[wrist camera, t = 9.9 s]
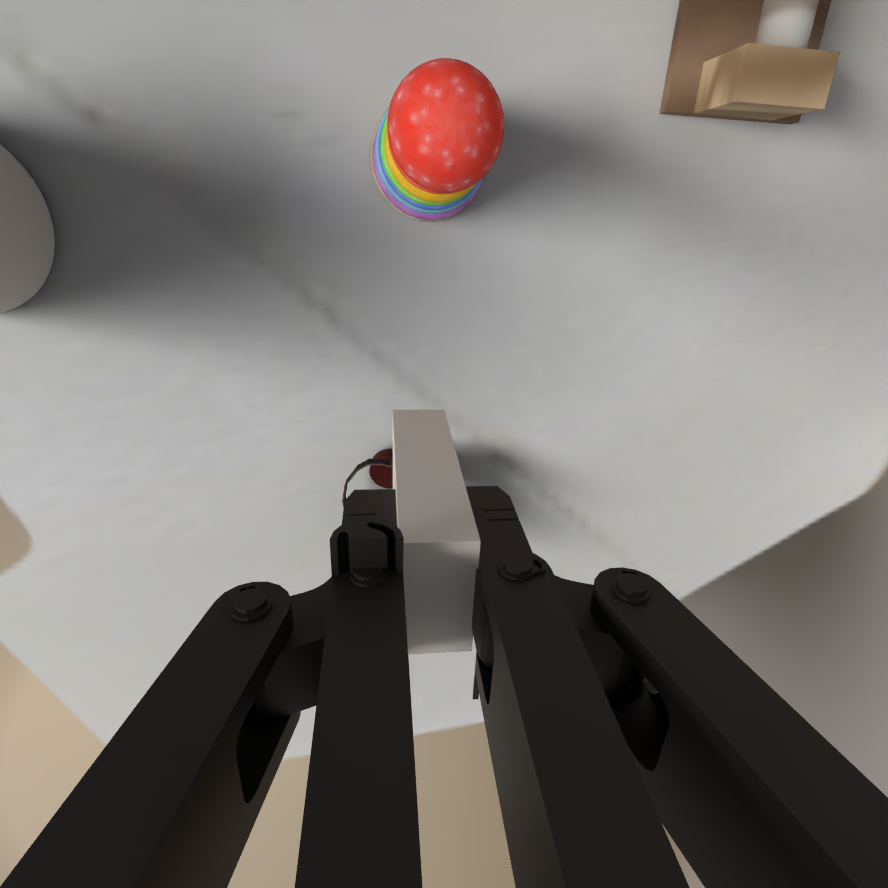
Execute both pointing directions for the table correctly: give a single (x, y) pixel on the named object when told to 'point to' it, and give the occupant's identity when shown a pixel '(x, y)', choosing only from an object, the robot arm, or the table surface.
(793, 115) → the pipe stand
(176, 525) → the table surface
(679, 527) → the table surface
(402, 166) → the stacking toy
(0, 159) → the cylinder vase
